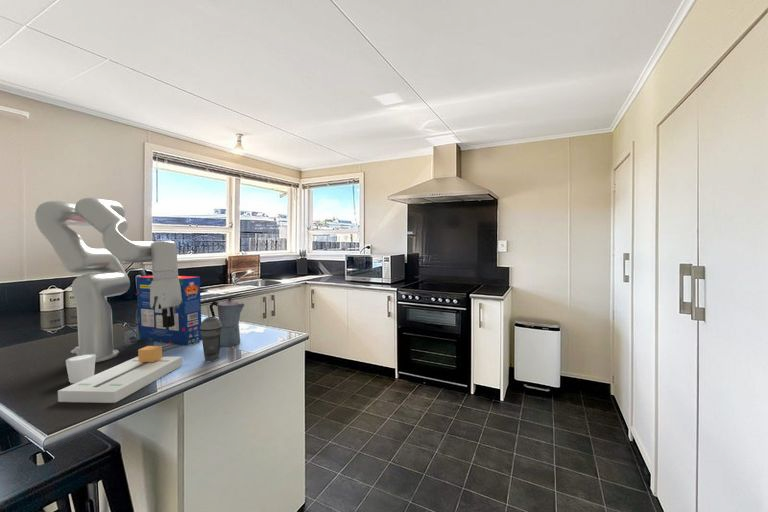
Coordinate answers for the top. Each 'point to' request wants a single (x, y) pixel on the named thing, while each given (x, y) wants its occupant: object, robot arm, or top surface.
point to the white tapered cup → (80, 367)
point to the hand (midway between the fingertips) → (168, 326)
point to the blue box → (184, 317)
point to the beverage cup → (211, 337)
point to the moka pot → (228, 320)
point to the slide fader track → (118, 381)
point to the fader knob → (150, 353)
